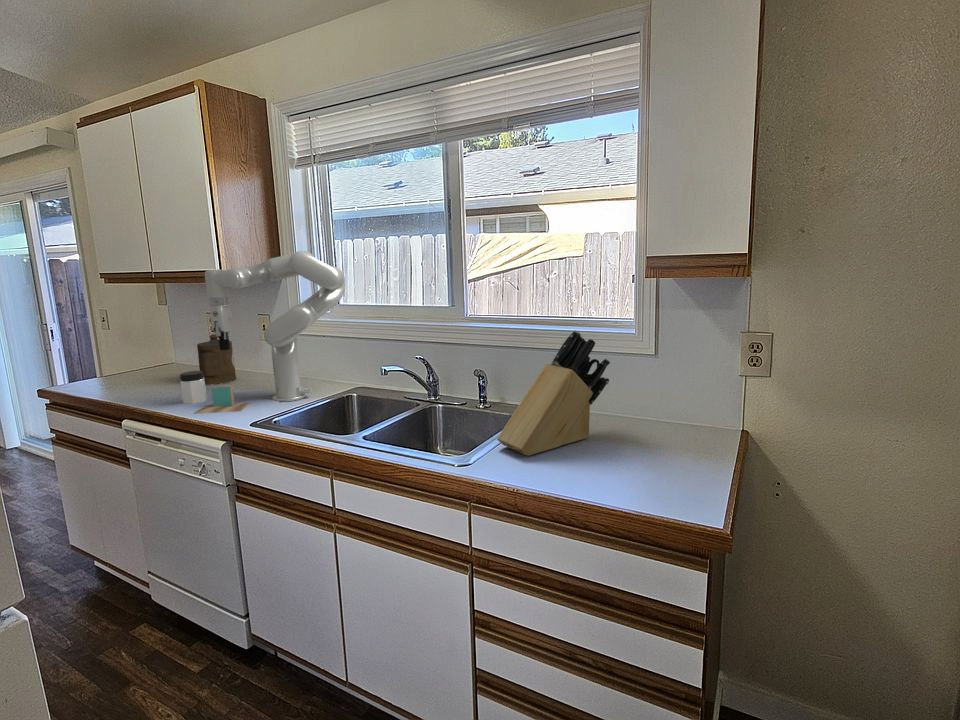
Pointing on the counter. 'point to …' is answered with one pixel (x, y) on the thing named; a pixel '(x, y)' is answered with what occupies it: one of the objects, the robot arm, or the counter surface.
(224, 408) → the mat
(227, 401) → the tile
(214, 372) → the wooden container
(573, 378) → the knife block
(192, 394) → the jar
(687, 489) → the counter surface
